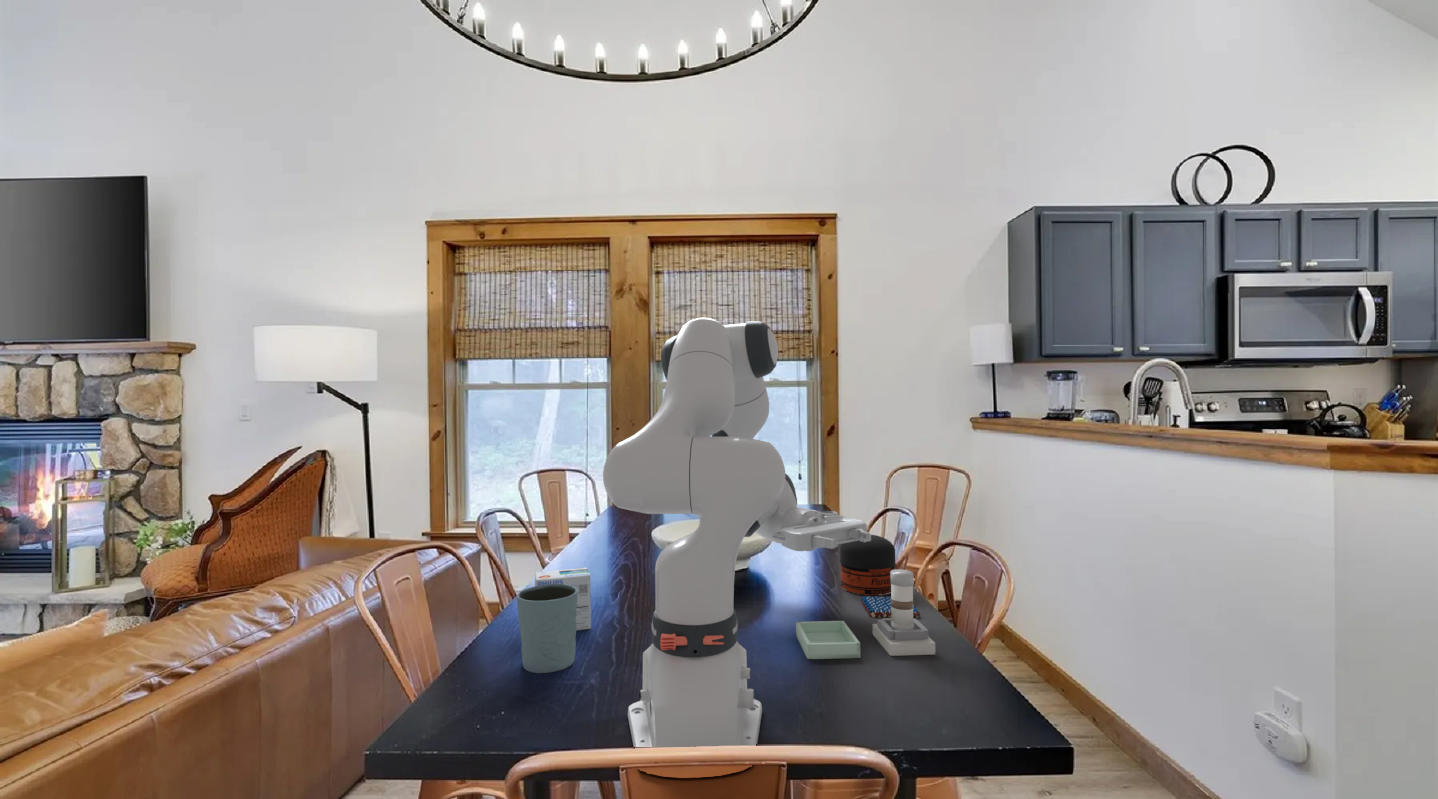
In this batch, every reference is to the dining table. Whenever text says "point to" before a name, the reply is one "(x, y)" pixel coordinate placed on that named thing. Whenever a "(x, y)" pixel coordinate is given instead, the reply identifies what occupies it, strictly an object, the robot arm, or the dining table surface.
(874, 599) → the woven mat
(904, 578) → the cylinder
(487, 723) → the dining table surface
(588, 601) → the light bulb box
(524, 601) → the green cup
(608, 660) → the dining table surface
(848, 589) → the oil filter
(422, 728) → the dining table surface
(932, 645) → the block
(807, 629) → the tray
